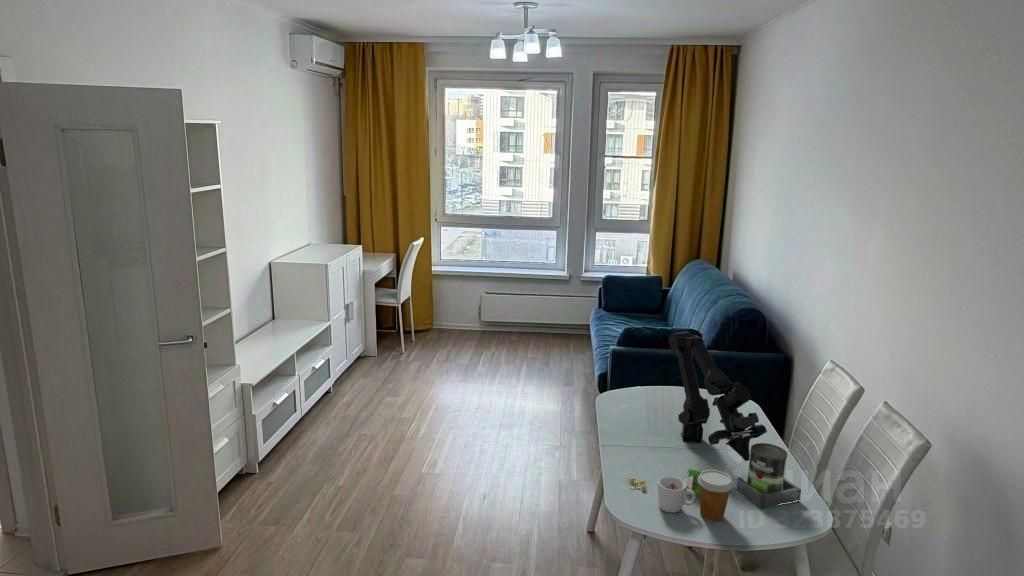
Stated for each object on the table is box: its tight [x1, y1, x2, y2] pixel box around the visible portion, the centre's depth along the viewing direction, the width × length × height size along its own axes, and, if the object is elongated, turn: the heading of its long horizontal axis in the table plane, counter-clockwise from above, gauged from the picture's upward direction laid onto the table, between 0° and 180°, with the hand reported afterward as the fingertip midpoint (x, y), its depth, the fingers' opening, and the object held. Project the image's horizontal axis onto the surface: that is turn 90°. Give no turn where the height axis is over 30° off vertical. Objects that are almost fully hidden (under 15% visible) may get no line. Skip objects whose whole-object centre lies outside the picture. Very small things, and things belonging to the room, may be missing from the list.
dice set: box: [629, 477, 647, 492], centre depth 204 cm, size 5×5×2 cm
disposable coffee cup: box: [698, 469, 734, 523], centre depth 188 cm, size 10×10×12 cm
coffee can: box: [746, 442, 788, 494], centre depth 201 cm, size 10×10×14 cm
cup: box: [657, 476, 697, 514], centre depth 191 cm, size 11×8×8 cm
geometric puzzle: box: [682, 468, 702, 496], centre depth 202 cm, size 7×7×8 cm
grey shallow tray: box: [735, 477, 802, 510], centre depth 200 cm, size 11×14×4 cm
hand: (747, 460), depth 209 cm, fingers closed
